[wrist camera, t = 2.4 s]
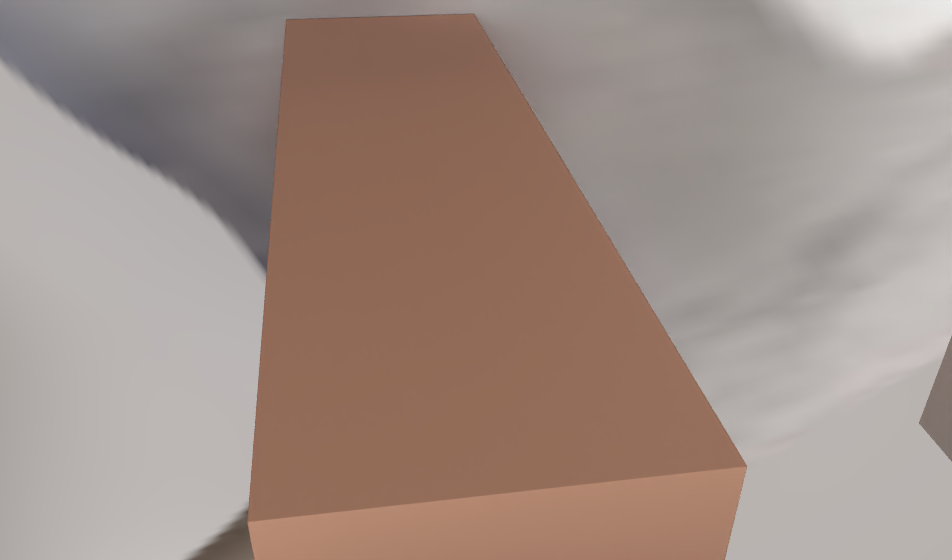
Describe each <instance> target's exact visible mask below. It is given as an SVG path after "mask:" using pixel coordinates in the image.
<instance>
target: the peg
mask: <svg viewBox="0 0 952 560" xmlns="http://www.w3.org/2000/svg"><path fill="white" fill-rule="evenodd" d="M746 469H747V465H746V463H745V462H744V460H743V459H742V457H741V455H740V454H739V452H738V450H737V449H736V447H735V445H734V444H733V442H732V440H731V439H730V437H729V435H728V434H727V432H726V430H725V429H724V427H723V425H722V424H721V422H720V420H719V419H718V417H717V415H716V414H715V412H714V410H713V409H712V407H711V406H710V404H709V402H708V401H707V399H706V397H705V396H704V394H703V392H702V391H701V389H700V387H699V386H698V384H697V382H696V381H695V379H694V377H693V376H692V374H691V372H690V371H689V369H688V367H687V366H686V364H685V362H684V361H683V359H682V357H681V356H680V354H679V353H678V351H677V349H676V348H675V346H674V344H673V343H672V341H671V339H670V338H669V336H668V334H667V333H666V331H665V329H664V328H663V326H662V324H661V323H660V321H659V319H658V318H657V316H656V314H655V313H654V311H653V309H652V308H651V306H650V304H649V303H648V301H647V300H646V298H645V296H644V295H643V293H642V291H641V290H640V288H639V286H638V285H637V283H636V281H635V280H634V278H633V276H632V275H631V273H630V271H629V270H628V268H627V266H626V265H625V263H624V261H623V260H622V258H621V256H620V255H619V253H618V252H617V250H616V248H615V247H614V245H613V243H612V242H611V240H610V238H609V237H608V235H607V233H606V232H605V230H604V228H603V227H602V225H601V223H600V222H599V220H598V218H597V217H596V215H595V213H594V212H593V210H592V208H591V207H590V205H589V203H588V202H587V200H586V199H585V197H584V195H583V194H582V192H581V190H580V189H579V187H578V185H577V184H576V182H575V180H574V179H573V177H572V175H571V174H570V172H569V170H568V169H567V167H566V165H565V164H564V162H563V160H562V159H561V157H560V155H559V154H558V152H557V150H556V149H555V147H554V146H553V144H552V142H551V141H550V139H549V137H548V136H547V134H546V132H545V131H544V129H543V127H542V126H541V124H540V122H539V121H538V119H537V117H536V116H535V114H534V112H533V111H532V109H531V107H530V106H529V104H528V102H527V101H526V99H525V98H524V96H523V94H522V93H521V91H520V89H519V88H518V86H517V84H516V83H515V81H514V79H513V78H512V76H511V74H510V73H509V71H508V69H507V68H506V66H505V64H504V63H503V61H502V59H501V58H500V56H499V54H498V53H497V51H496V49H495V48H494V46H493V45H492V43H491V41H490V40H489V38H488V36H487V35H486V33H485V31H484V30H483V28H482V26H481V25H480V23H479V21H478V20H477V18H476V16H475V15H474V14H455V15H422V16H390V17H357V18H324V19H291V20H286V28H285V41H284V54H283V67H282V80H281V93H280V106H279V119H278V132H277V145H276V158H275V171H274V185H273V198H272V211H271V224H270V237H269V250H268V263H267V276H266V289H265V303H264V316H263V329H262V341H261V354H260V367H259V380H258V393H257V407H256V420H255V433H254V445H253V459H252V471H251V484H250V497H249V510H248V527H249V533H250V539H251V544H252V550H253V555H254V560H725V557H726V552H727V548H728V544H729V540H730V536H731V531H732V527H733V523H734V519H735V515H736V511H737V507H738V502H739V498H740V494H741V490H742V485H743V481H744V477H745V473H746Z"/></svg>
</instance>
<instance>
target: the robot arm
mask: <svg viewBox="0 0 952 560" xmlns="http://www.w3.org/2000/svg"><path fill="white" fill-rule="evenodd" d="M919 424H920V425H921V426H922V427H923V428H924V430H925V431H926V432H927V433H928V434H929V435H930V437H931V438H932V439H933V440H934V441H935V442H936V444H937V445H938V446H939V447H940V448H941V449H942V451H944V453H945V454H946V455H947V456H948V458H949V459H950V460H951V461H952V337H951V339H950V342H949V345H948V347H947V350H946V353H945V355H944V358H943V361H942V364H941V366H940V369H939V371H938V374H937V377H936V379H935V382H934V384H933V387H932V390H931V393H930V395H929V398H928V400H927V403H926V406H925V408H924V411H923V414H922V417H921V419H920V422H919Z"/></svg>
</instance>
